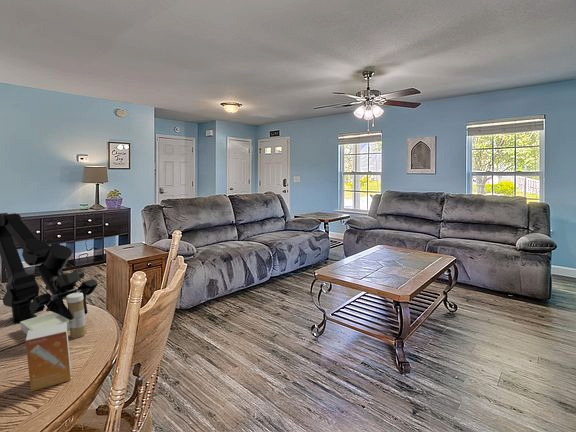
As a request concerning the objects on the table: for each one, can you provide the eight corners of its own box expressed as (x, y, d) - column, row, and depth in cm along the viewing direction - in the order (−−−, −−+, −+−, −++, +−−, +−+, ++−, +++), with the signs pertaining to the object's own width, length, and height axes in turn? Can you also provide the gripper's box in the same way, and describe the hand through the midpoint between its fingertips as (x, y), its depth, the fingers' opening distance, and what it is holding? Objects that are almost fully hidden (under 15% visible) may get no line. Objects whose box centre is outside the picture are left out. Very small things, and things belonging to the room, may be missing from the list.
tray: (21, 330, 109) (20, 321, 109) (65, 316, 120) (64, 308, 119) (35, 341, 102) (34, 332, 101) (81, 325, 112) (80, 317, 112)
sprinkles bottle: (68, 335, 105) (63, 295, 104) (84, 330, 109) (80, 290, 107) (73, 340, 102) (68, 298, 101) (89, 334, 106) (85, 294, 104)
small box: (30, 392, 78) (24, 340, 76) (33, 379, 83) (27, 329, 81) (71, 380, 82) (66, 330, 81) (71, 368, 88) (66, 321, 86)
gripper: (30, 270, 96) (57, 313, 93) (91, 255, 113) (116, 291, 109) (18, 293, 100) (43, 334, 97) (79, 275, 117) (102, 310, 114)
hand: (79, 316), depth 104 cm, fingers closed on sprinkles bottle, 4 cm apart
